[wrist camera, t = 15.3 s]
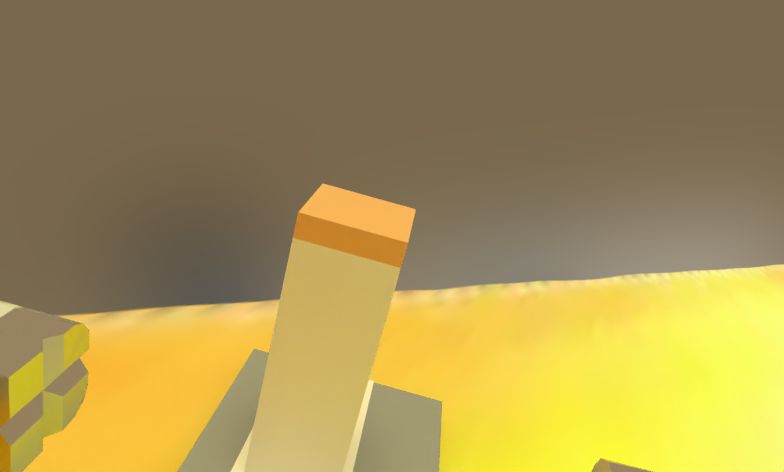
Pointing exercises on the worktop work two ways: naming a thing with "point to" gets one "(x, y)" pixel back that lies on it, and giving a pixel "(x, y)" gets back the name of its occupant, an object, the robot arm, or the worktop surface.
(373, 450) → the board
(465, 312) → the worktop surface
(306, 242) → the orange-capped beige pillar
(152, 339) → the worktop surface
